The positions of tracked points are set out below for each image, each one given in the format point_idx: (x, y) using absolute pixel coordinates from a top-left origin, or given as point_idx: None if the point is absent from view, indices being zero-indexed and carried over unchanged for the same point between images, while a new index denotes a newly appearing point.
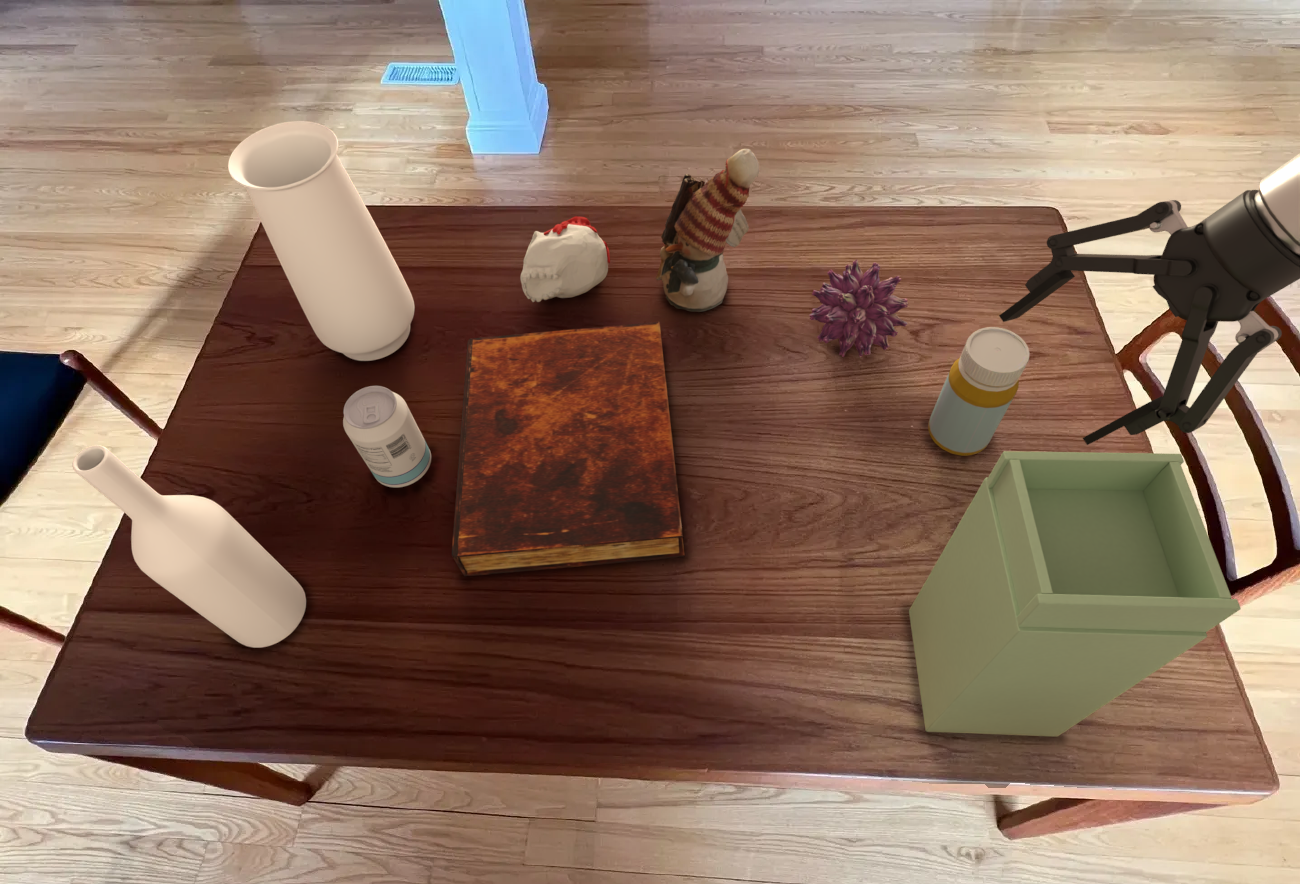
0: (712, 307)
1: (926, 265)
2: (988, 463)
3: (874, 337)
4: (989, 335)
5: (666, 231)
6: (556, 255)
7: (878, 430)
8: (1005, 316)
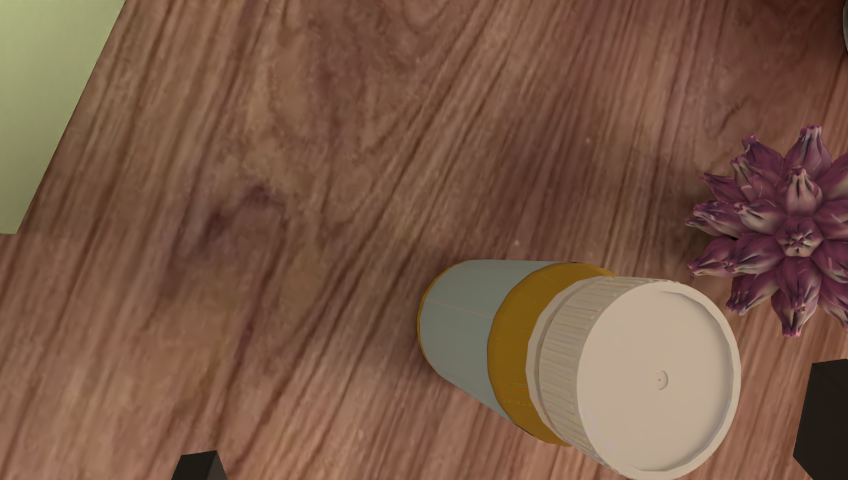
0: (846, 31)
1: None
2: (389, 346)
3: (738, 210)
4: (712, 385)
5: None
6: None
7: (529, 175)
8: (842, 376)
